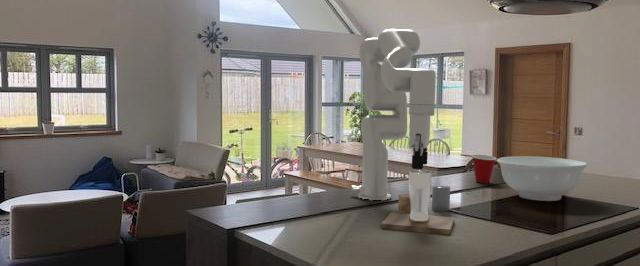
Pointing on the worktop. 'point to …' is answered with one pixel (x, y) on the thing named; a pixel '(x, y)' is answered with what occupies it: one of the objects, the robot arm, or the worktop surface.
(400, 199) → the teak block
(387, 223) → the walnut board
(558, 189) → the bowl
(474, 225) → the worktop surface
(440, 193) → the cylinder
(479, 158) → the plastic cup
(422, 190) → the beer glass
